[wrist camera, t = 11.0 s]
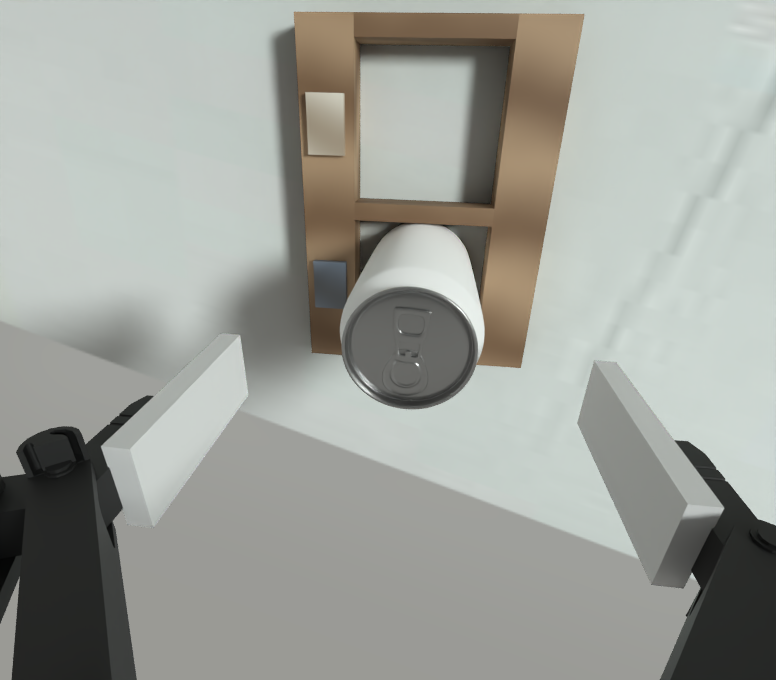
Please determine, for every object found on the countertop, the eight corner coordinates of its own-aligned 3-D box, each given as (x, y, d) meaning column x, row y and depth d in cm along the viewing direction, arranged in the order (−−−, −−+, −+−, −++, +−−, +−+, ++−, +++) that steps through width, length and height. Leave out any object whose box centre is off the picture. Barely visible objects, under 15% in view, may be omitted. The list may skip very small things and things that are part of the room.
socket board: (305, 21, 23) (291, 9, 21) (572, 23, 22) (587, 11, 20) (319, 340, 32) (310, 355, 29) (515, 354, 30) (521, 370, 28)
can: (368, 309, 30) (329, 408, 19) (374, 213, 27) (332, 267, 17) (462, 320, 30) (474, 426, 19) (478, 224, 27) (503, 286, 16)
